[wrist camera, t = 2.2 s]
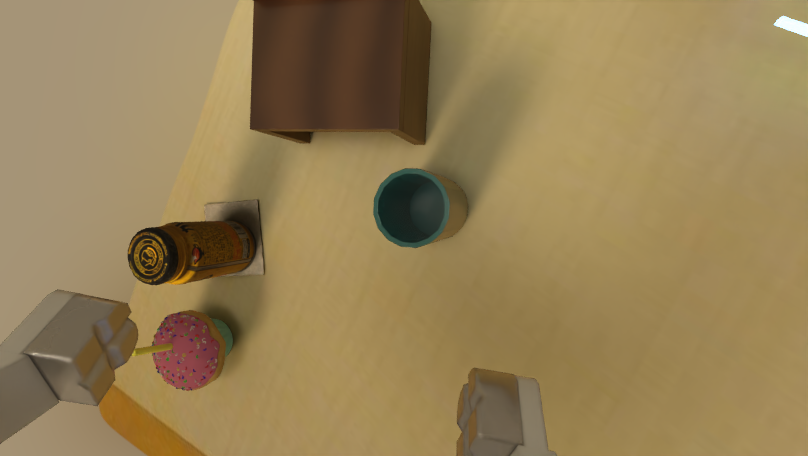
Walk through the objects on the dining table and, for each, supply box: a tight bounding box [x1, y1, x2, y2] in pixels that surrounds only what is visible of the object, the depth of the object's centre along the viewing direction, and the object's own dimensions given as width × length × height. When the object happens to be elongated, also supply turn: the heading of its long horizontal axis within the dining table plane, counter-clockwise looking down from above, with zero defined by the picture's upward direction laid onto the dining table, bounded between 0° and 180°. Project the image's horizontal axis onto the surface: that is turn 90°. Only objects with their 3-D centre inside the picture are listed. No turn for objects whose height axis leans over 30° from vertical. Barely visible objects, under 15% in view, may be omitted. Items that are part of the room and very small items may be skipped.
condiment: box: [128, 200, 264, 285], centre depth 46 cm, size 7×8×12 cm
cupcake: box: [132, 310, 233, 390], centre depth 47 cm, size 9×8×12 cm
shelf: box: [250, 0, 431, 145], centre depth 42 cm, size 14×12×11 cm
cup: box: [373, 168, 468, 248], centre depth 40 cm, size 6×6×10 cm
